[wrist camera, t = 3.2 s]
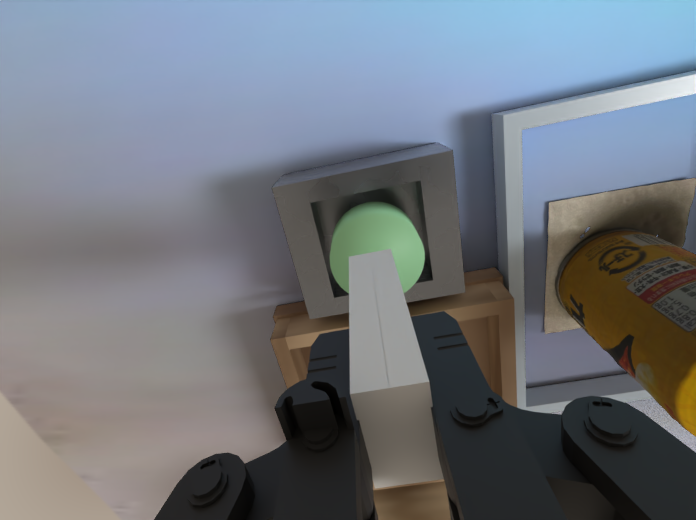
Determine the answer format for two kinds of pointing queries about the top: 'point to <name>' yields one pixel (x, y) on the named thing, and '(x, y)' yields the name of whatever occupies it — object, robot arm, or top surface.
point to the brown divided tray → (467, 308)
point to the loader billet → (413, 502)
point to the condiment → (630, 285)
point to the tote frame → (511, 221)
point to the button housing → (373, 186)
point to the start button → (377, 241)
